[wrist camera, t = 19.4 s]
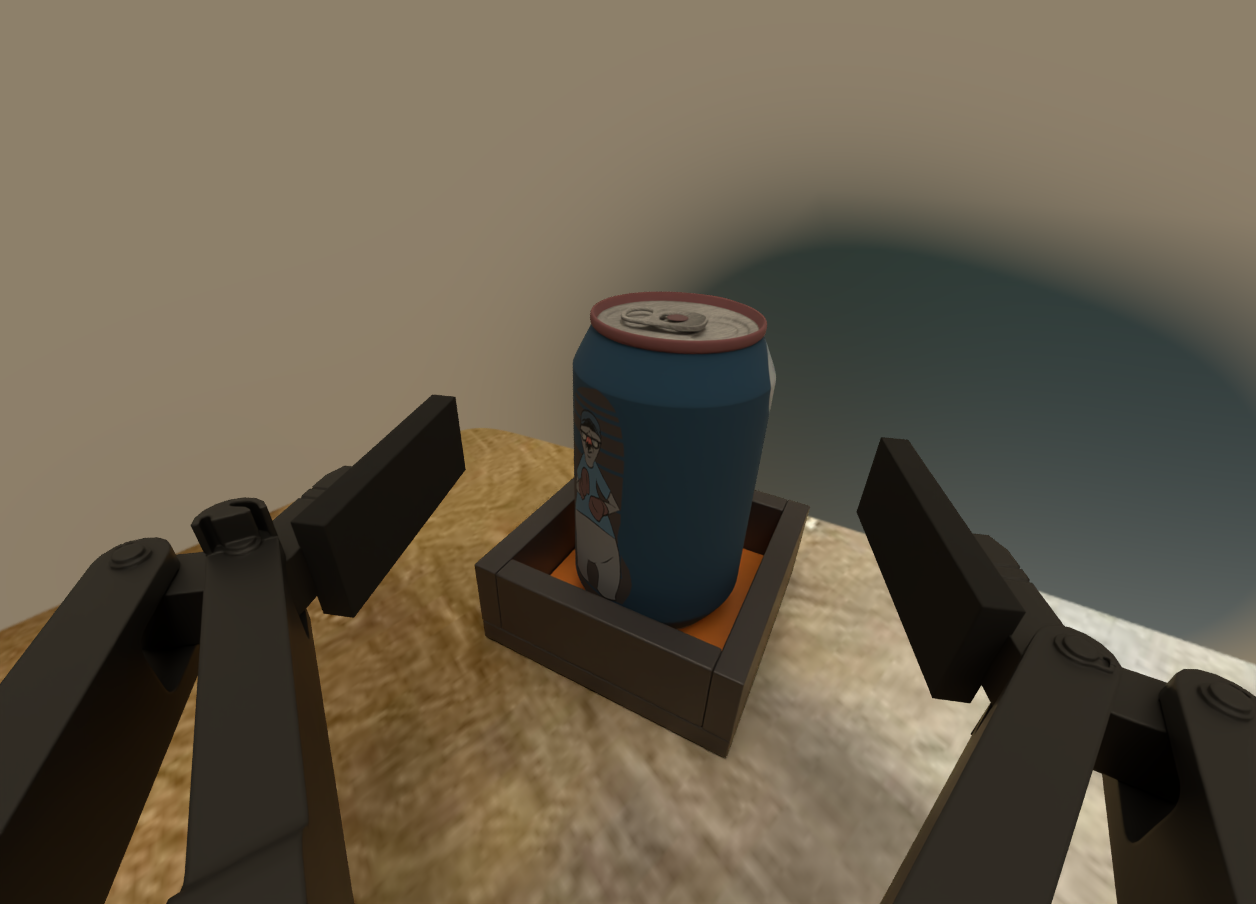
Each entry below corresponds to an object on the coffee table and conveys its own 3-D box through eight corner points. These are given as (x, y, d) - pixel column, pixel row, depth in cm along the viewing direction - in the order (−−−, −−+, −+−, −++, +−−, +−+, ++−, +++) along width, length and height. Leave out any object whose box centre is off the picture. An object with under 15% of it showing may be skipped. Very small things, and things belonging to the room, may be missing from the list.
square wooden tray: (484, 636, 22) (473, 564, 20) (608, 506, 30) (609, 445, 28) (726, 759, 18) (744, 685, 16) (792, 570, 26) (810, 505, 24)
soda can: (743, 552, 25) (794, 301, 19) (716, 669, 19) (776, 363, 13) (609, 518, 27) (615, 279, 21) (548, 616, 21) (532, 326, 15)
